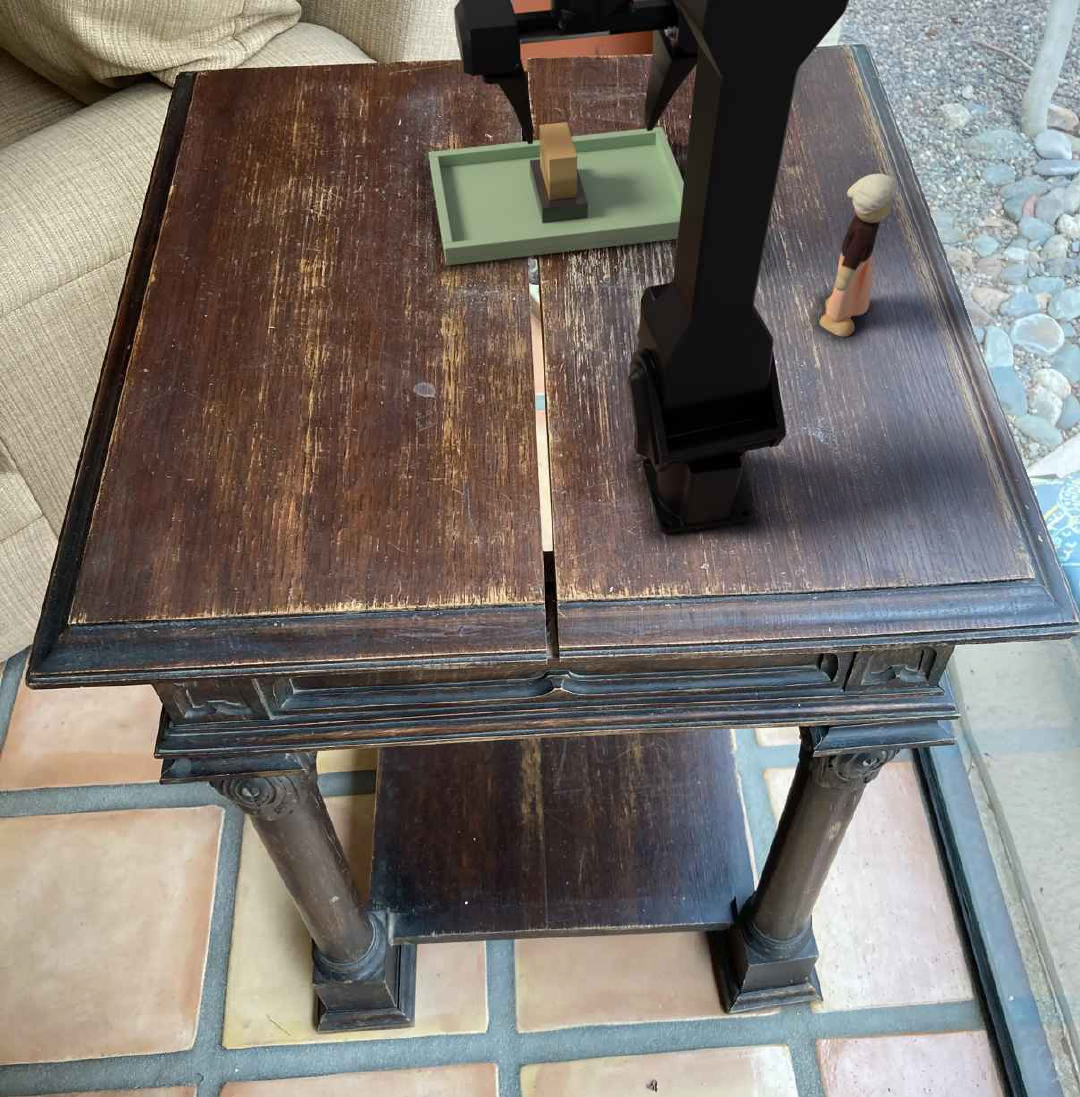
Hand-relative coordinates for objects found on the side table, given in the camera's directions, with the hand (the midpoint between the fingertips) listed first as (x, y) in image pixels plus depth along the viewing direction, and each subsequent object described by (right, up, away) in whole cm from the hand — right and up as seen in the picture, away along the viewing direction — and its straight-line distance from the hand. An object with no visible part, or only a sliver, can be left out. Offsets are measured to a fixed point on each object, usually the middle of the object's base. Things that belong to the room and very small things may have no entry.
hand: (589, 134), depth 80 cm
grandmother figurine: (+20, -13, +4) cm, 24 cm away
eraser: (-2, 0, +13) cm, 13 cm away
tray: (-2, -1, +13) cm, 13 cm away
